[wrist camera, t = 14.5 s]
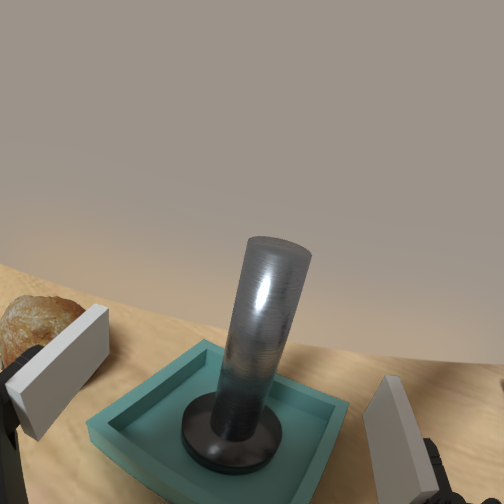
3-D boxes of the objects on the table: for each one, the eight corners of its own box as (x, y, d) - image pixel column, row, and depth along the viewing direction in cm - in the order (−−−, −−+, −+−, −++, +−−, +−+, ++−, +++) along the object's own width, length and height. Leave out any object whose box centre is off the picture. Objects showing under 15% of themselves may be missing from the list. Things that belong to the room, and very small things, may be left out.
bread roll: (10, 367, 24) (-34, 316, 18) (77, 309, 30) (45, 250, 25) (55, 434, 19) (-3, 388, 14) (133, 359, 26) (99, 298, 20)
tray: (338, 421, 24) (349, 402, 23) (275, 555, 12) (287, 545, 11) (200, 358, 29) (204, 338, 28) (90, 441, 17) (85, 421, 16)
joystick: (290, 428, 22) (357, 255, 17) (250, 492, 16) (332, 295, 11) (213, 391, 25) (249, 219, 20) (160, 440, 18) (178, 237, 14)
